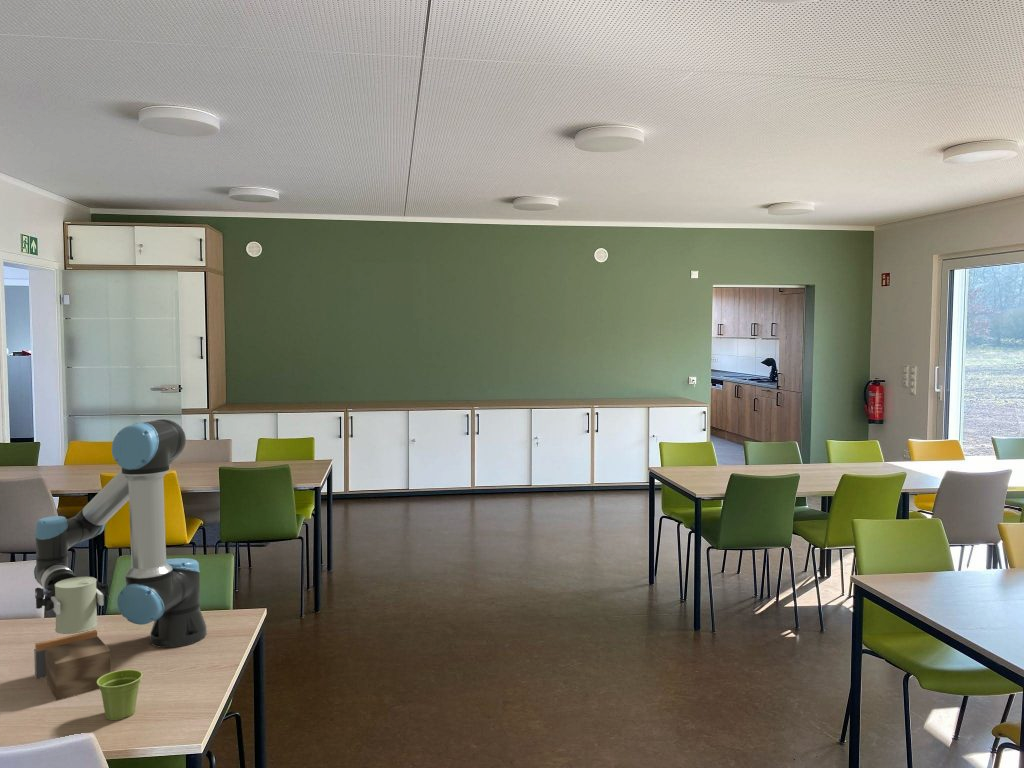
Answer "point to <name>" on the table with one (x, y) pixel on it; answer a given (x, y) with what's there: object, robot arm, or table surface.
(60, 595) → the can
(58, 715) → the table surface
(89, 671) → the walnut stand
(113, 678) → the plant pot
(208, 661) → the table surface
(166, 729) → the table surface
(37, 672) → the hurdle posts
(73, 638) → the terracotta bar
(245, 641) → the table surface
